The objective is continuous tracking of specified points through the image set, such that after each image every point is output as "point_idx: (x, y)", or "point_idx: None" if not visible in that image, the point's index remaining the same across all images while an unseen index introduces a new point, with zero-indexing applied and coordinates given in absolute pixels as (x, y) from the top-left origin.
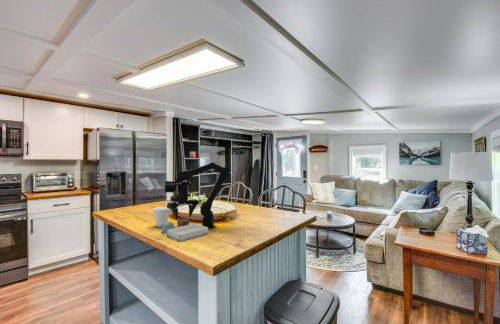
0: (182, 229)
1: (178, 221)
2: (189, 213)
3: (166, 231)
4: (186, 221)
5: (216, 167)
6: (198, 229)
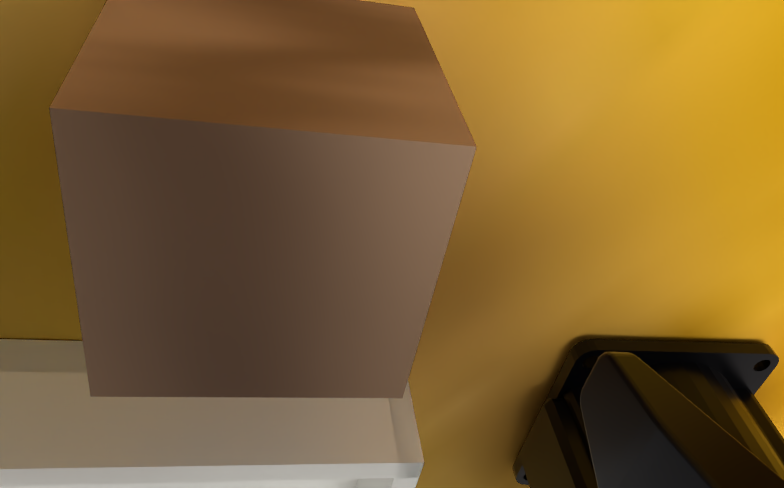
0: (27, 416)
1: (69, 195)
2: (666, 484)
3: None
4: (297, 381)
5: None
6: (346, 483)
